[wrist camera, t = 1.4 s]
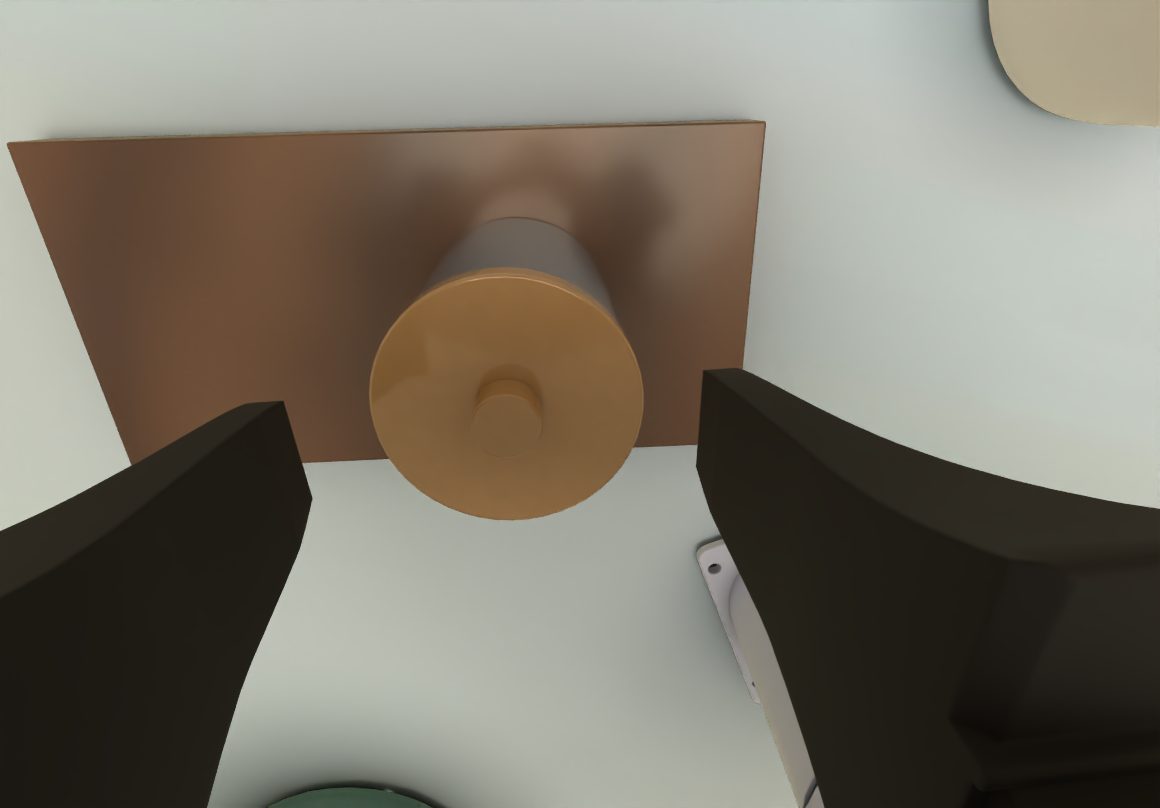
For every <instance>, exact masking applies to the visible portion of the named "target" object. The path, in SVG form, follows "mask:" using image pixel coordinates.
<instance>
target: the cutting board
mask: <svg viewBox="0 0 1160 808" xmlns="http://www.w3.org/2000/svg"><path fill="white" fill-rule="evenodd" d="M765 128H766V122H765V121H758V120H715V121H679V122H643V123H607V124H572V125H536V126H500V127H464V128H428V129H393V130H357V131H321V132H285V133H250V134H214V135H178V136H142V137H106V138H71V139H42V140H30V141H18V142H8V143H7V147H8V149H9V152H10V154H11V157H12V159H13V162H14V165H15V167H16V170H17V172H18V175H19V177H20V180H21V183H22V185H23V188H24V190H25V193H26V195H27V198H28V201H29V203H30V206H31V208H32V211H33V213H34V216H35V219H36V221H37V224H38V226H39V229H40V231H41V234H42V237H43V239H44V242H45V244H46V247H47V249H48V252H49V254H50V257H51V260H52V262H53V265H54V267H55V270H56V272H57V275H58V278H59V280H60V283H61V285H62V288H63V290H64V293H65V296H66V298H67V301H68V303H69V306H70V308H71V311H72V314H73V316H74V319H75V321H76V324H77V326H78V329H79V332H80V334H81V337H82V339H83V342H84V344H85V347H86V350H87V352H88V355H89V357H90V360H91V362H92V365H93V368H94V370H95V373H96V375H97V378H98V380H99V383H100V386H101V388H102V391H103V393H104V396H105V398H106V401H107V404H108V406H109V409H110V411H111V414H112V416H113V419H114V422H115V424H116V427H117V429H118V432H119V434H120V437H121V440H122V442H123V445H124V447H125V450H126V452H127V455H128V458H129V460H130V463H131V465H134V464H136V463H137V462H139V461H141V460H143V459H144V458H146V457H148V456H150V455H151V454H153V453H155V452H157V451H158V450H160V449H162V448H163V447H165V446H167V445H169V444H170V443H172V442H174V441H176V440H177V439H179V438H181V437H182V436H184V435H186V434H188V433H189V432H191V431H193V430H195V429H196V428H198V427H200V426H202V425H203V424H205V423H207V422H209V421H210V420H212V419H214V418H216V417H218V416H220V415H222V414H223V413H225V412H227V411H229V410H231V409H234V408H236V407H238V406H241V405H243V404H246V403H256V402H270V401H284V404H285V407H286V411H287V414H288V417H289V421H290V424H291V428H292V431H293V434H294V438H295V441H296V444H297V448H298V451H299V455H300V458H301V461H302V463H311V462H332V461H354V460H375V459H389V457H388V456H387V454H386V452H385V450H384V449H383V447H382V445H381V443H380V441H379V439H378V436H377V433H376V430H375V428H374V425H373V421H372V416H371V411H370V403H369V384H370V374H371V370H372V366H373V362H374V358H375V356H376V353H377V351H378V349H379V346H380V344H381V342H382V340H383V339H384V337H385V335H386V334H387V332H388V330H389V328H390V327H391V325H392V324H393V323H394V321H395V320H396V319H397V317H398V316H399V315H400V314H401V312H402V311H403V310H404V309H405V308H406V307H407V306H408V305H409V304H410V303H411V302H412V301H413V300H414V299H415V298H416V297H417V295H418V293H419V292H420V290H421V289H422V287H423V286H424V284H425V283H426V281H427V279H428V278H429V276H430V275H431V273H432V272H433V270H434V269H435V267H436V266H437V264H438V262H439V261H440V259H441V258H442V256H443V255H444V253H445V252H446V251H447V250H448V249H449V247H450V246H451V245H452V244H453V243H454V242H455V241H456V240H457V239H459V238H460V237H461V236H462V235H464V234H465V233H467V232H468V231H470V230H472V229H474V228H476V227H478V226H480V225H482V224H485V223H488V222H491V221H494V220H500V219H505V218H527V219H534V220H538V221H543V222H546V223H548V224H551V225H554V226H556V227H558V228H560V229H562V230H564V231H566V232H567V233H568V234H570V235H571V236H573V237H574V238H576V239H577V240H578V241H579V242H580V243H581V244H582V245H583V246H584V247H585V248H586V249H587V250H588V251H589V252H590V254H591V255H592V256H593V258H594V259H595V261H596V262H597V264H598V266H599V267H600V270H601V272H602V274H603V276H604V279H605V282H606V285H607V288H608V291H609V294H610V297H611V300H612V303H613V306H614V309H615V312H616V315H617V318H618V321H619V324H620V326H621V328H622V329H623V331H624V332H625V334H626V336H627V338H628V340H629V342H630V344H631V346H632V348H633V350H634V353H635V356H636V359H637V362H638V365H639V369H640V372H641V376H642V383H643V389H644V409H643V416H642V423H641V426H640V430H639V433H638V437H637V439H636V441H635V444H634V446H633V448H634V447H656V446H677V445H698V433H699V419H700V405H701V391H702V377H703V370H712V369H726V368H739V369H742V368H743V358H744V347H745V337H746V326H747V316H748V305H749V295H750V284H751V274H752V264H753V253H754V243H755V232H756V222H757V211H758V201H759V190H760V180H761V170H762V159H763V149H764V138H765Z"/></svg>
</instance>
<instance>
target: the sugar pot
mask: <svg viewBox="0 0 1160 808" xmlns="http://www.w3.org/2000/svg"><path fill="white" fill-rule="evenodd" d="M369 403H370V411H371V416H372V421H373V425H374V428H375V430H376V433H377V436H378V439H379V441H380V443H381V445H382V447H383V449H384V450H385V452H386V454H387V456H388V457H389V459H390V460H391V461H392V463H393V464H394V466H395V467H396V468H397V469H398V471H399V472H400V473H401V474H402V475H403V476H404V477H405V478H406V479H407V480H408V481H409V482H410V483H411V484H412V485H414V486H415V487H416V488H417V489H418V490H420V491H421V492H422V493H424V494H425V495H427V496H428V497H430V498H431V499H433V500H435V501H437V502H439V503H441V504H443V505H445V506H447V507H449V508H451V509H454V510H456V511H459V512H462V513H465V514H469V515H473V516H476V517H481V518H488V519H495V520H524V519H532V518H538V517H543V516H547V515H550V514H554V513H557V512H560V511H563V510H565V509H567V508H570V507H572V506H575V505H576V504H578V503H580V502H582V501H583V500H585V499H587V498H589V497H590V496H591V495H593V494H594V493H595V492H597V491H598V490H600V489H601V488H602V487H603V486H604V485H605V484H606V483H607V482H608V481H609V480H610V479H612V477H613V476H614V475H615V474H616V473H617V471H618V470H619V469H620V468H621V467H622V465H623V464H624V462H625V460H626V459H627V457H628V456H629V454H630V452H631V450H632V448H633V446H634V444H635V441H636V439H637V437H638V433H639V430H640V426H641V423H642V416H643V409H644V389H643V383H642V376H641V372H640V369H639V365H638V362H637V359H636V356H635V353H634V350H633V348H632V346H631V344H630V342H629V340H628V338H627V336H626V334H625V332H624V331H623V329H622V328H621V326H620V324H619V321H618V318H617V315H616V312H615V309H614V306H613V303H612V300H611V297H610V294H609V291H608V288H607V285H606V282H605V279H604V276H603V274H602V272H601V270H600V267H599V266H598V264H597V262H596V261H595V259H594V258H593V256H592V255H591V254H590V252H589V251H588V250H587V249H586V248H585V247H584V246H583V245H582V244H581V243H580V242H579V241H578V240H577V239H576V238H574V237H573V236H571V235H570V234H568V233H567V232H566V231H564V230H562V229H560V228H558V227H556V226H554V225H551V224H548V223H546V222H543V221H538V220H534V219H527V218H505V219H500V220H494V221H491V222H488V223H485V224H482V225H480V226H478V227H476V228H474V229H472V230H470V231H468V232H467V233H465V234H464V235H462V236H461V237H460V238H459V239H457V240H456V241H455V242H454V243H453V244H452V245H451V246H450V247H449V249H448V250H447V251H446V252H445V253H444V255H443V256H442V258H441V259H440V261H439V262H438V264H437V266H436V267H435V269H434V270H433V272H432V273H431V275H430V276H429V278H428V279H427V281H426V283H425V284H424V286H423V287H422V289H421V290H420V292H419V293H418V295H417V297H416V298H415V299H414V300H413V301H412V302H411V303H410V304H409V305H408V306H407V307H406V308H405V309H404V310H403V311H402V312H401V314H400V315H399V316H398V317H397V319H396V320H395V321H394V323H393V324H392V325H391V327H390V328H389V330H388V332H387V334H386V335H385V337H384V339H383V340H382V342H381V344H380V346H379V349H378V351H377V353H376V356H375V358H374V362H373V366H372V370H371V374H370V384H369Z"/></svg>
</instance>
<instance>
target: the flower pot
mask: <svg viewBox="0 0 1160 808" xmlns="http://www.w3.org/2000/svg"><path fill="white" fill-rule="evenodd" d="M267 808H432V807H430V806H428V805H427V804H425V803H422V802H420V801H417V800H415V799H412V798H410V797H406V796H403V795H399V794H395V793H391V792H387V791H382V790H376V789H366V788H330V789H322V790H315V791H308V792H305V793H302V794H298V795H295V796H292V797H288V798H286V799H283V800H281V801H279V802H277V803H275V804H273V805H271V806H269V807H267Z"/></svg>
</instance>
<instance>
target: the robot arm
mask: <svg viewBox="0 0 1160 808" xmlns="http://www.w3.org/2000/svg"><path fill="white" fill-rule="evenodd" d="M696 468H697V471H698V474H699V478H700V481H701V485H702V488H703V491H704V494H705V498H706V501H707V504H708V507H709V510H710V513H711V515H712V517H713V519H714V521H715V524H716V526H717V528H718V530H719V532H720V534H721V536H722V538H723V539H721V540H718V541H715V542H712V543H709V544H706V545H704V546H702V547H701V548H700V549H699V550H698V551H697V559H698V563H699V565H700V568H701V570H702V573H703V575H704V578H705V580H706V583H707V585H708V588H709V591H710V593H711V596H712V598H713V601H714V603H715V606H716V608H717V611H718V613H719V616H720V619H721V621H722V624H723V626H724V629H725V631H726V634H727V636H728V639H729V641H730V644H731V647H732V649H733V652H734V654H735V657H736V659H737V662H738V664H739V667H740V669H741V672H742V675H743V677H744V680H745V682H746V685H747V687H748V690H749V692H750V695H751V697H752V700H753V701H754V702H755V703H757V704H762V706H763V709H764V712H765V715H766V718H767V720H768V723H769V726H770V729H771V732H772V734H773V737H774V740H775V743H776V745H777V748H778V751H779V754H780V757H781V759H782V762H783V765H784V768H785V770H786V773H787V776H788V779H789V782H790V784H791V787H792V790H793V793H794V796H795V798H796V801H797V804H798V807H799V808H1160V509H1157V508H1150V507H1143V506H1137V505H1130V504H1124V503H1118V502H1112V501H1107V500H1102V499H1097V498H1092V497H1087V496H1082V495H1078V494H1073V493H1068V492H1063V491H1058V490H1053V489H1049V488H1045V487H1040V486H1036V485H1032V484H1028V483H1024V482H1019V481H1015V480H1011V479H1008V478H1004V477H1001V476H997V475H993V474H990V473H986V472H983V471H979V470H975V469H972V468H968V467H965V466H962V465H958V464H955V463H952V462H949V461H946V460H942V459H939V458H937V457H934V456H931V455H928V454H925V453H923V452H920V451H917V450H914V449H912V448H909V447H906V446H903V445H900V444H898V443H895V442H893V441H890V440H888V439H885V438H883V437H880V436H878V435H875V434H873V433H871V432H869V431H866V430H864V429H862V428H860V427H857V426H855V425H853V424H851V423H849V422H846V421H844V420H842V419H840V418H838V417H836V416H834V415H832V414H830V413H827V412H825V411H823V410H821V409H819V408H817V407H815V406H813V405H812V404H810V403H808V402H806V401H804V400H802V399H800V398H798V397H796V396H794V395H792V394H790V393H788V392H787V391H785V390H783V389H781V388H779V387H777V386H775V385H773V384H771V383H769V382H768V381H766V380H764V379H762V378H760V377H758V376H756V375H754V374H751V373H749V372H747V371H745V370H742V369H739V368H726V369H712V370H703V377H702V391H701V405H700V419H699V433H698V448H697V462H696ZM311 502H312V495H311V492H310V488H309V485H308V482H307V478H306V475H305V472H304V468H303V465H302V461H301V458H300V455H299V451H298V448H297V444H296V441H295V438H294V434H293V431H292V428H291V424H290V421H289V417H288V414H287V411H286V407H285V404H284V401H270V402H256V403H246V404H243V405H241V406H238V407H236V408H234V409H231V410H229V411H227V412H225V413H223V414H222V415H220V416H218V417H216V418H214V419H212V420H210V421H209V422H207V423H205V424H203V425H202V426H200V427H198V428H196V429H195V430H193V431H191V432H189V433H188V434H186V435H184V436H182V437H181V438H179V439H177V440H176V441H174V442H172V443H170V444H169V445H167V446H165V447H163V448H162V449H160V450H158V451H157V452H155V453H153V454H151V455H150V456H148V457H146V458H144V459H143V460H141V461H139V462H137V463H136V464H134V465H132V466H130V467H128V468H126V469H124V470H123V471H121V472H119V473H117V474H115V475H113V476H111V477H110V478H108V479H106V480H104V481H102V482H100V483H98V484H97V485H95V486H93V487H91V488H89V489H87V490H85V491H84V492H82V493H80V494H78V495H76V496H74V497H72V498H70V499H68V500H66V501H64V502H62V503H60V504H58V505H56V506H54V507H52V508H50V509H48V510H46V511H44V512H42V513H39V514H37V515H35V516H33V517H31V518H29V519H26V520H24V521H22V522H20V523H17V524H15V525H13V526H11V527H9V528H6V529H4V530H2V531H0V808H207V806H208V802H209V798H210V795H211V791H212V787H213V784H214V780H215V776H216V773H217V769H218V765H219V762H220V758H221V754H222V751H223V747H224V744H225V741H226V738H227V734H228V731H229V728H230V724H231V721H232V718H233V714H234V711H235V708H236V705H237V701H238V698H239V695H240V692H241V689H242V686H243V683H244V681H245V678H246V676H247V673H248V670H249V668H250V665H251V662H252V660H253V658H254V655H255V653H256V651H257V648H258V646H259V644H260V641H261V639H262V637H263V635H264V632H265V630H266V628H267V625H268V623H269V621H270V618H271V616H272V614H273V611H274V609H275V607H276V604H277V602H278V600H279V597H280V595H281V593H282V590H283V588H284V586H285V583H286V581H287V579H288V576H289V574H290V571H291V569H292V567H293V564H294V562H295V559H296V557H297V554H298V552H299V549H300V546H301V543H302V539H303V535H304V532H305V528H306V524H307V520H308V515H309V511H310V507H311ZM712 564H718V565H717V566H715V567H709V566H710V565H712Z"/></svg>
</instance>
